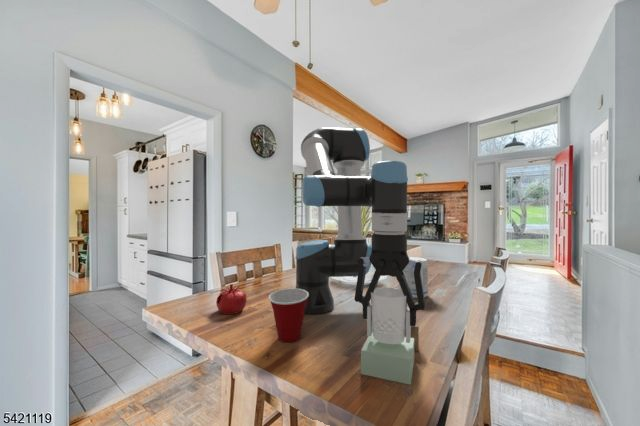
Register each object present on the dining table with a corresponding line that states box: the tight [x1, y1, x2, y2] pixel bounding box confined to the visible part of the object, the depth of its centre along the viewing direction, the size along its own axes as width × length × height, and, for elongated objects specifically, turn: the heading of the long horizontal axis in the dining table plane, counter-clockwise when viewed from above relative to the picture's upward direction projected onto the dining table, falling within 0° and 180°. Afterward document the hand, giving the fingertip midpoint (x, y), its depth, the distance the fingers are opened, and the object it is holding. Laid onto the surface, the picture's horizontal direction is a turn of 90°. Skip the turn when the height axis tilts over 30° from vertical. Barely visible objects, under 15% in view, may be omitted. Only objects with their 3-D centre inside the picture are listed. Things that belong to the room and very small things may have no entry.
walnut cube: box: [405, 322, 420, 352], centre depth 73 cm, size 6×6×6 cm
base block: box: [360, 333, 415, 386], centre depth 62 cm, size 10×10×5 cm
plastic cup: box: [268, 287, 309, 343], centre depth 76 cm, size 11×11×12 cm
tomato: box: [215, 283, 248, 315], centre depth 97 cm, size 10×10×9 cm
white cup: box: [370, 287, 408, 345], centre depth 62 cm, size 8×8×10 cm
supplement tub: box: [403, 256, 429, 299], centre depth 114 cm, size 10×10×15 cm
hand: (388, 336), depth 62 cm, fingers closed on white cup, 7 cm apart
